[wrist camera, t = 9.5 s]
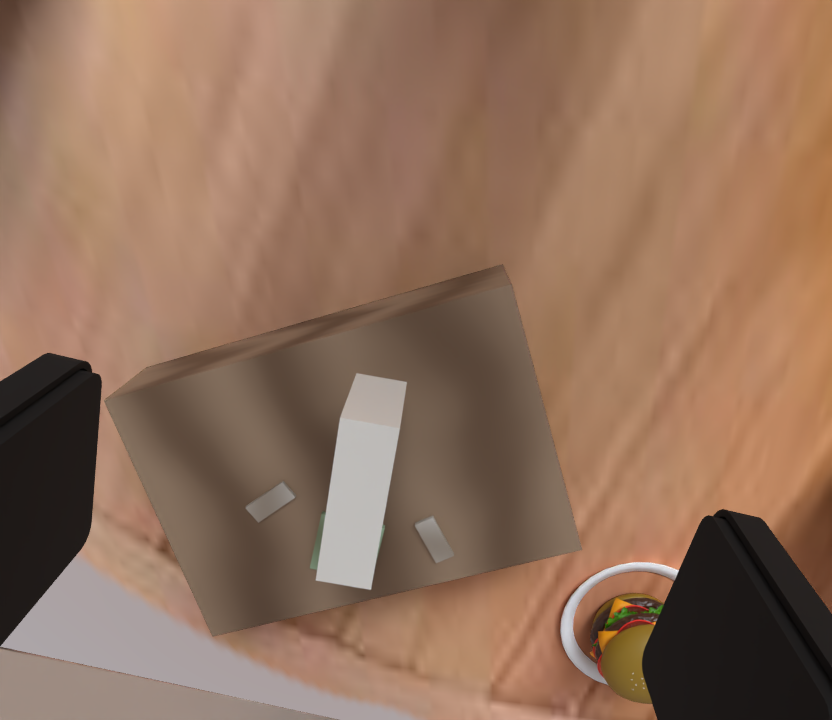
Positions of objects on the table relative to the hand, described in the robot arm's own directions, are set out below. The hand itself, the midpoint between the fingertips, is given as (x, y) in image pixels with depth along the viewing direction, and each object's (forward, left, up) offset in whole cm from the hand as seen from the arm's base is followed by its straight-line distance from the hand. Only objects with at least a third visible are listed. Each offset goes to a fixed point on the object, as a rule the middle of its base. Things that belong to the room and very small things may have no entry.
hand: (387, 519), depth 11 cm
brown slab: (+7, +9, -26) cm, 28 cm away
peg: (+5, +8, -21) cm, 23 cm away
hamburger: (-6, +25, -27) cm, 37 cm away
